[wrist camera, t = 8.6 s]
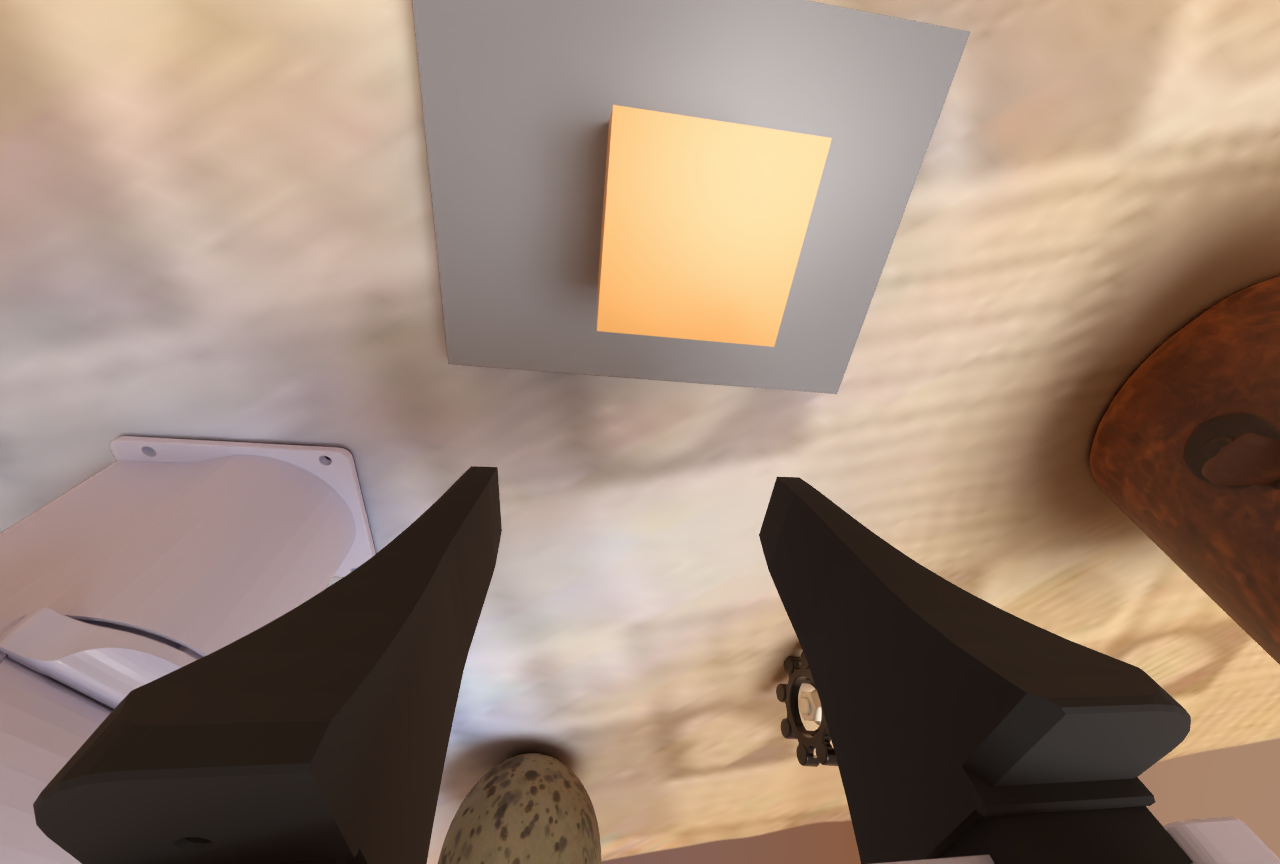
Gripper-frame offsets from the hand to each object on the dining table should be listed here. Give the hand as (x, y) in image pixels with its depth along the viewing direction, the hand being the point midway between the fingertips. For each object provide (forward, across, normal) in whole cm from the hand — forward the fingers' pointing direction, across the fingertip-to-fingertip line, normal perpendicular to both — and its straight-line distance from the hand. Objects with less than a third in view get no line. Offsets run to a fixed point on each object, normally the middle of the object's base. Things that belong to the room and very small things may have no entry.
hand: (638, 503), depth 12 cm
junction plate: (+9, -1, -6) cm, 11 cm away
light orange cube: (+8, -1, -6) cm, 10 cm away
